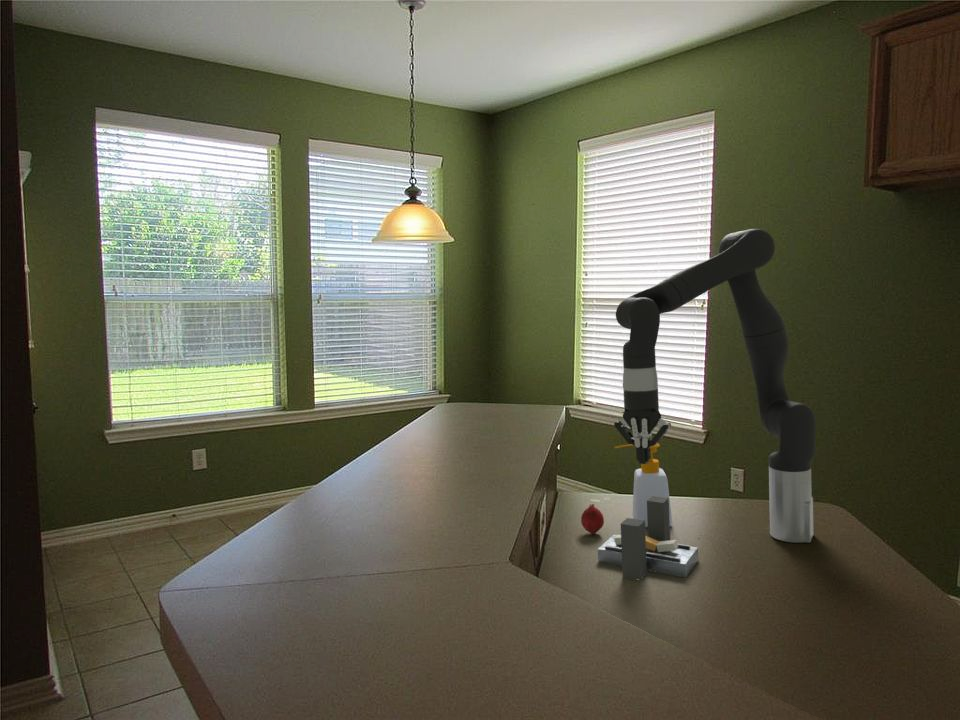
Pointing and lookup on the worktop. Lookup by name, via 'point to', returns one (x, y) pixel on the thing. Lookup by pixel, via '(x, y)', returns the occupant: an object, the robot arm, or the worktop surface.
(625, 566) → the cord post
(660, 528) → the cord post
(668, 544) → the paddle
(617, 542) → the paddle
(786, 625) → the worktop surface
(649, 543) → the orange block
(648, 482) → the soap bottle
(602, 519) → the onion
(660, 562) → the breaker panel
